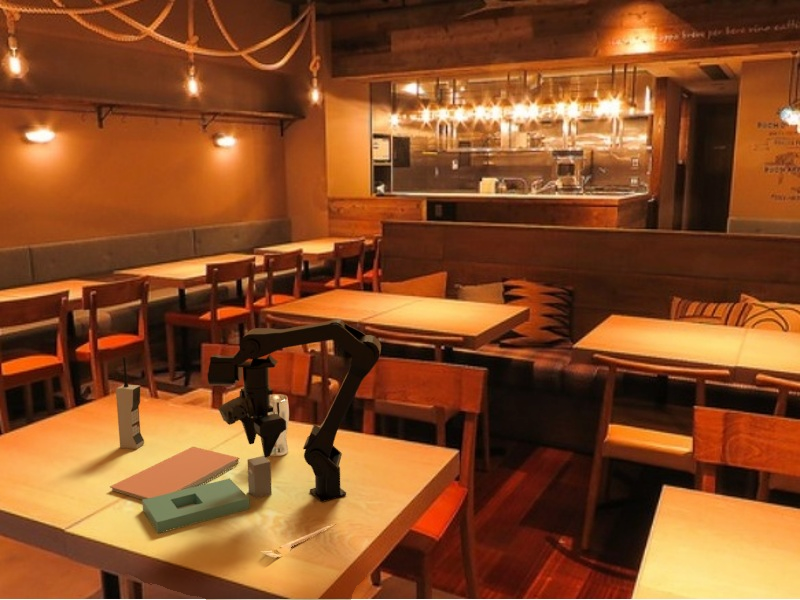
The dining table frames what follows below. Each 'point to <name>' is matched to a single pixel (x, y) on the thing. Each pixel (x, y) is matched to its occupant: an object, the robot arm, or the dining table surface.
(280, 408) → the beer glass
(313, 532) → the fork
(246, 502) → the green slotted board
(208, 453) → the notebook
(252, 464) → the block
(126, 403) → the vintage mobile phone
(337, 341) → the robot arm
